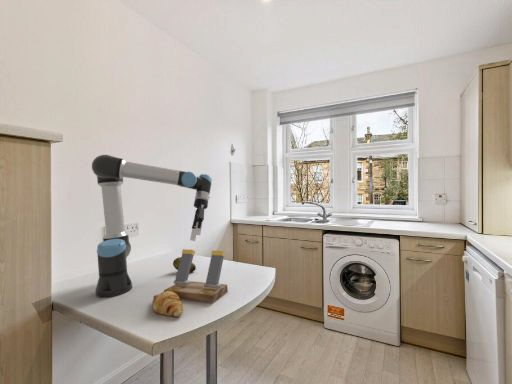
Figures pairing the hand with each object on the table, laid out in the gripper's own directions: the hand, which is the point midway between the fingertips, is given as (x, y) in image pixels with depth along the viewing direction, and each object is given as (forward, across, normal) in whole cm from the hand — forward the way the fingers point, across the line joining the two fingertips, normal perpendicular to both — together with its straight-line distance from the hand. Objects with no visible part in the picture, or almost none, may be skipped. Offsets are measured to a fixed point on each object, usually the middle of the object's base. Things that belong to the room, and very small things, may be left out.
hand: (194, 237), depth 138 cm
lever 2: (+24, -23, -7) cm, 34 cm away
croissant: (+35, -24, +9) cm, 44 cm away
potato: (+16, +18, 0) cm, 24 cm away
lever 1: (+24, -12, +4) cm, 27 cm away
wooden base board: (+28, -16, -3) cm, 32 cm away
